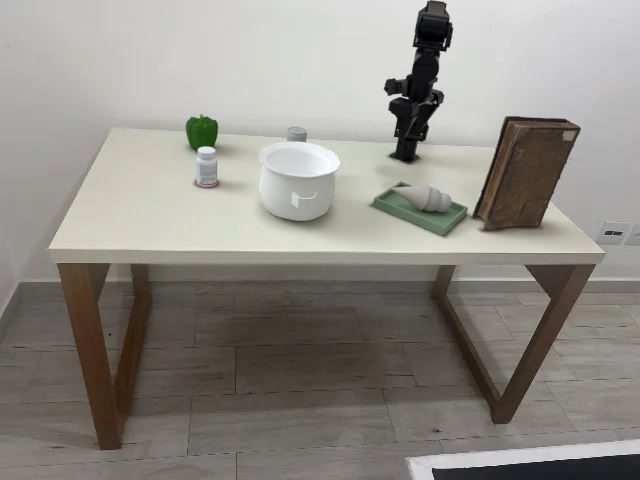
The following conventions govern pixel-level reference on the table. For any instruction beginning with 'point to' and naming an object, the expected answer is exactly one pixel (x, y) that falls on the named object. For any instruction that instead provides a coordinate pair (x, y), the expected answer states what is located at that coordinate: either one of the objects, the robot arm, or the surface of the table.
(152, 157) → the table surface
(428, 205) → the ice cream cone
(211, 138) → the bell pepper
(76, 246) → the table surface
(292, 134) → the beverage can
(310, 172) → the pot
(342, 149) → the table surface
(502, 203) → the book
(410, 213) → the tray
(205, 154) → the pill bottle
